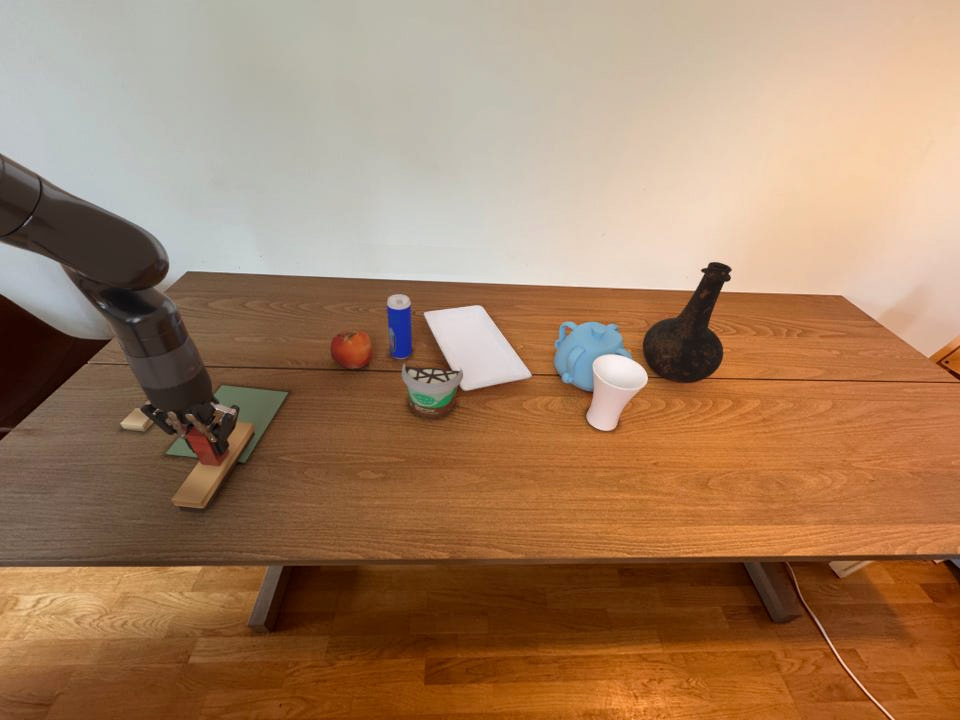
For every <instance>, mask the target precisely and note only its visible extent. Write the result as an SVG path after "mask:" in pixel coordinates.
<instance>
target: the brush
mask: <svg viewBox="0 0 960 720" xmlns="http://www.w3.org/2000/svg"><path fill="white" fill-rule="evenodd" d="M214 430H215V428H214V427H213V431H214ZM254 430H255V427H254V425H253V423H244V422H237V423H236V427H235V429H234V430H233V432H232V433H231V435H230V436H229V437H228V439H227V441H228V442H229V447H228V449H227V450H226V452H225V453H224V454H223V455H222V456H216V454H215V452H214V450H213V448H212V446H211V444H210V441H209V439H208V438H207V437H206V435H205V434H204V433H200V432H199V431H198V430H197V429H196V427H195V426H193V428H192V429H191V430H190V431H189V433H188V434H187V435H186V437H187V439H188V440H189V442H190V444H191V446H192V448H193V450H194V452H195V453H196V455H197V457H198V458H197V459H198V462H197V464H196V465H195V466H194V468H193V469H192V471H191V472H190V473H189V474H188V476H187V477H186V478H185V480H184V481H183V483H182V484H181V486H180V487H179V488H178V490H177V491H176V492H175V494H174V495H173V497H171V500H170V501H171V502H172V503H173V505H174V506H176V507H178V509H179V510H180V512H184V513H185V512H186V513H194V514H205V513H206V512H207V510H208V508H209V507H210V505H211V504H212V502H213V501H214V499H215V498H216V496H217V495H218V493H219V491H220V490H221V489H222V487H223V485H224V484H225V482H226V480H227V479H228V478H229V476H230V474H231V473H232V471H233V469H234V468H235V466H236V465H237V463H239V462H238V460H239V459H240V457H241V455H242V454H243V452H244V451H245V449H246V448H247V446H248V444H249V443H250V441H251V440H252V438H253V437H254V435H255V433H254Z"/></svg>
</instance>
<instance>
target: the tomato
mask: <svg viewBox="0 0 960 720" xmlns="http://www.w3.org/2000/svg"><path fill="white" fill-rule="evenodd" d="M330 356H331V358H332V359H333V361H334V362H335V363H336V364H337V365H339V366H341V367H342V368H344V369H349V370H354V369H361V368H363V367H365V366H367V365H368V364H369V363H370V361H371V360H372V357H373V342H372V340H371V338H370V336H369V335H368V334H367V333H366V332H364V331H361V330H349V331H348V330H346V331H342V332H339V333H337V334H336V335H335V336H333V337H332V339H331V342H330Z"/></svg>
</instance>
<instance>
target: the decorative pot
mask: <svg viewBox="0 0 960 720" xmlns="http://www.w3.org/2000/svg"><path fill="white" fill-rule="evenodd" d="M566 328H569V329H570V330H572V331H570V332H569V333H568V335H567V336H566ZM558 337H559V338H558V339H556V340H555V341H554V344H553V345H554V348H555V349H556V353H555V354H554V358H553V366H554V368H555V370H556V373H557V374H558V375H559V376H560V377H561V381H562V382H563V383H564V384H571V385H572V386H574V387H575V388H579V389H580V390H582V391H586V392H594V378H593V363H594V361H595V360H596V359H597V358H598V357H600V356H603V355H608V354H612V355H620V356H624V357H627V358H630V359H632V360H634V358H633V355H632V354H631V353H630V352H629V351H628V350H626V349H625V344H624V339H623V336H622V334H621V333H620V328H619V326H618V325H617V324H615V323H609V324H608V325H605V324H604V323H601V322H597V321H587V322H583V323H581V324H576V322H574V321H565V322H562V324H561V325H560V326H559V329H558Z"/></svg>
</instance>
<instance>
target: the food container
mask: <svg viewBox="0 0 960 720" xmlns="http://www.w3.org/2000/svg"><path fill="white" fill-rule="evenodd" d="M401 378H402V381H403V382H404V384H405V385H406V388H407V394H408V400H409V404H410V408H411V410H412V411H413V412H414V413H415V414H416V415H418V416H420V417H422V418H424V419H438V418H443V417H444V416H446V415H448V414H449V413H450V412H451V411H452V410H453V408H454V406H455V402H456V397H457V393H458V387H459V386H460V385H459V384H460V382H461V381H462V379H463V371H462V370H461V369H460V371H452V370H451V369H450V370H449V369H443V368H440V367H439V368H438V367H432V366H431V367H417V366H416V367H414V366H406V363H405V362H404V363H403V365H402V368H401Z"/></svg>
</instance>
